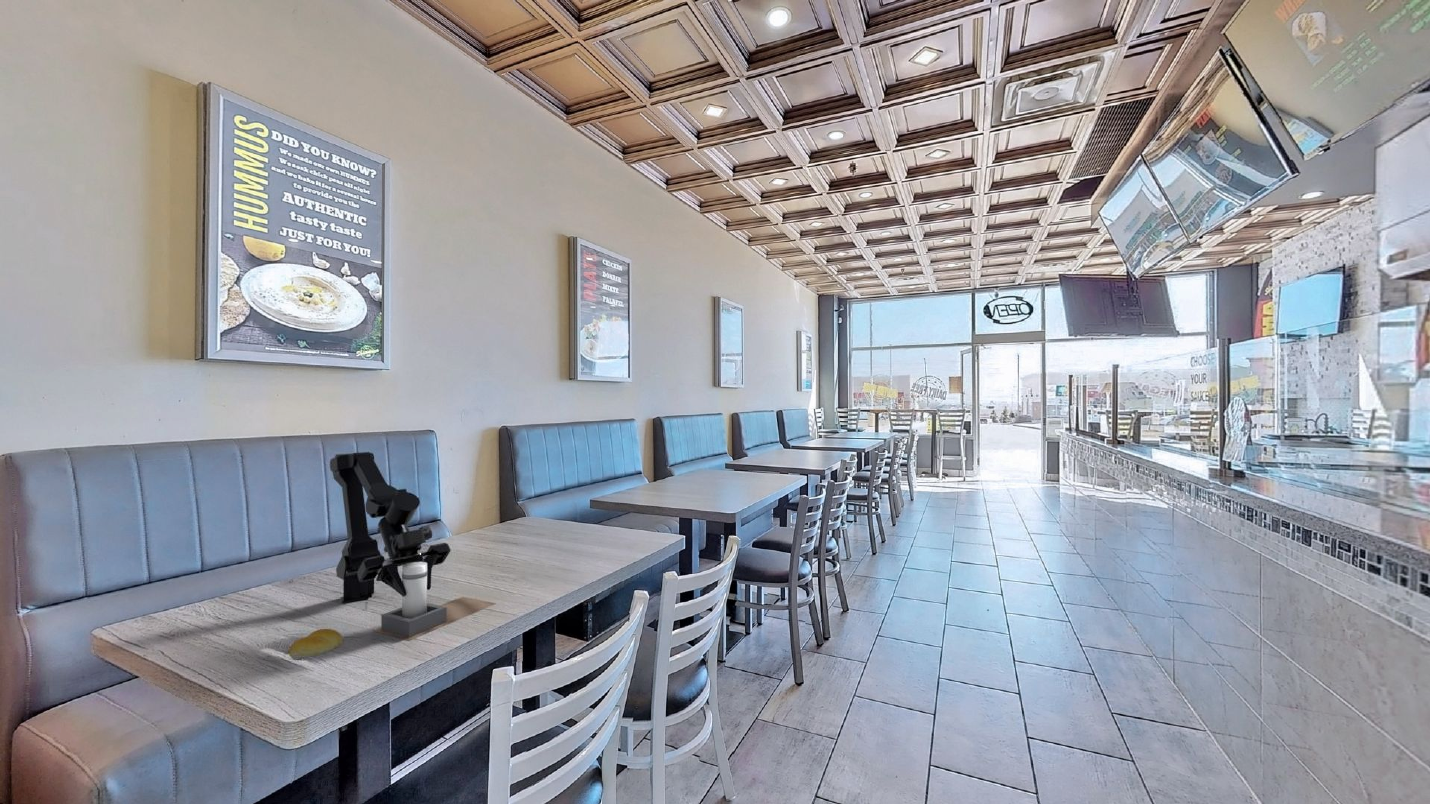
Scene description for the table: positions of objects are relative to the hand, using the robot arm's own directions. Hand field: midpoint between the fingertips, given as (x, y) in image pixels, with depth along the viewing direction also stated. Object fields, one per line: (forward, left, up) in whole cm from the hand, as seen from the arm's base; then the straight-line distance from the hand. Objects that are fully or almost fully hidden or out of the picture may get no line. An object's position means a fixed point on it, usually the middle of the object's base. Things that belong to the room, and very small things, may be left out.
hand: (417, 592), depth 122 cm
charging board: (+5, +5, -9) cm, 11 cm away
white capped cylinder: (-1, +1, -7) cm, 7 cm away
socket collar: (-1, +1, -8) cm, 8 cm away
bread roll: (-19, 0, -9) cm, 21 cm away
